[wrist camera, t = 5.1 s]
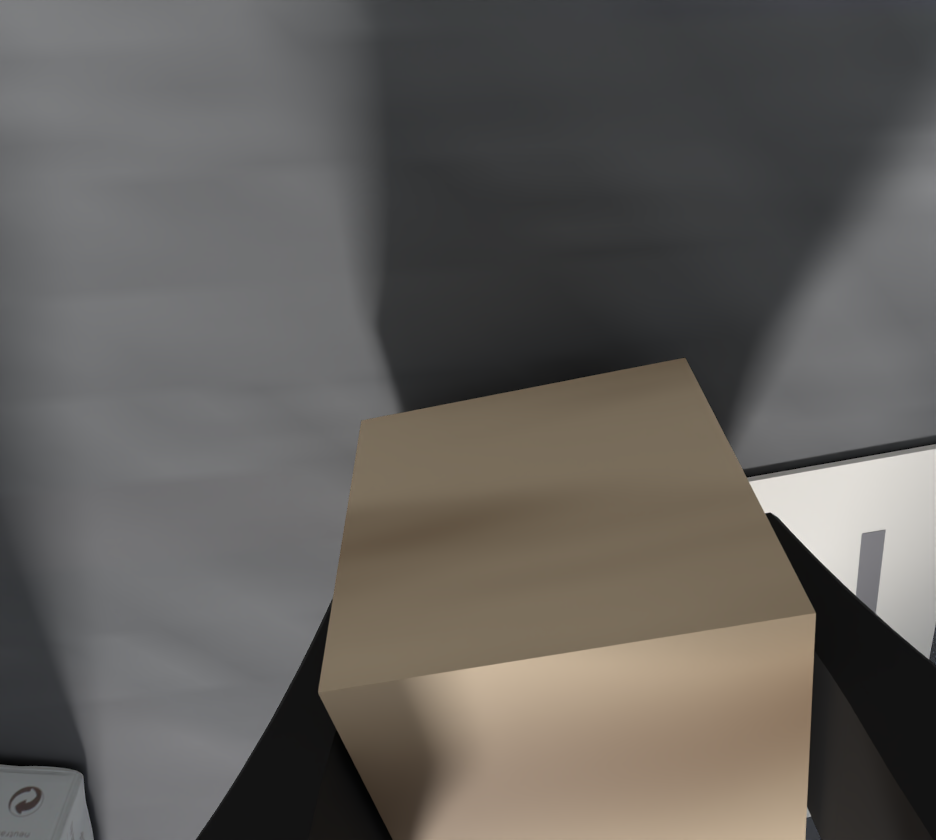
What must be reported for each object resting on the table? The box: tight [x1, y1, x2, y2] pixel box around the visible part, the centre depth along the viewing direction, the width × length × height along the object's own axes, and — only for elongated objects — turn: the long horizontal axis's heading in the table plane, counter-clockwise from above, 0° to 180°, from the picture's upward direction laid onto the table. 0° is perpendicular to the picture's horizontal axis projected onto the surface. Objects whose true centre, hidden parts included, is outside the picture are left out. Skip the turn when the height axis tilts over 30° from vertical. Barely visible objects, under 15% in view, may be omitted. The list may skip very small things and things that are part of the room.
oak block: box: [318, 358, 816, 840], centre depth 11 cm, size 5×5×5 cm
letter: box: [747, 444, 936, 817], centre depth 18 cm, size 12×9×1 cm
